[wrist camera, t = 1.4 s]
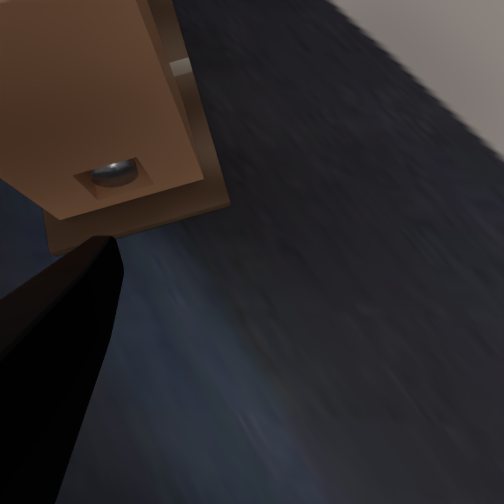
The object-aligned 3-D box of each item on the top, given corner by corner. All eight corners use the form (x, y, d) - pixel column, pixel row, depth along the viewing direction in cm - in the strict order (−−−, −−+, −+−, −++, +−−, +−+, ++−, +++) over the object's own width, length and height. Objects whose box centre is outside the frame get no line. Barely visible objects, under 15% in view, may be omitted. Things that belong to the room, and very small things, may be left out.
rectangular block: (204, 179, 24) (123, -31, 12) (59, 220, 24) (-178, 52, 12) (182, 101, 26) (89, -162, 13) (45, 139, 25) (-181, -89, 13)
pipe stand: (231, 205, 25) (214, 147, 18) (54, 256, 25) (-24, 214, 18) (170, -6, 29) (139, -114, 22) (18, 36, 29) (-57, -60, 22)
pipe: (144, 179, 23) (130, 158, 21) (101, 192, 23) (82, 172, 21) (105, 13, 26) (89, -21, 24) (66, 23, 26) (46, -9, 24)
